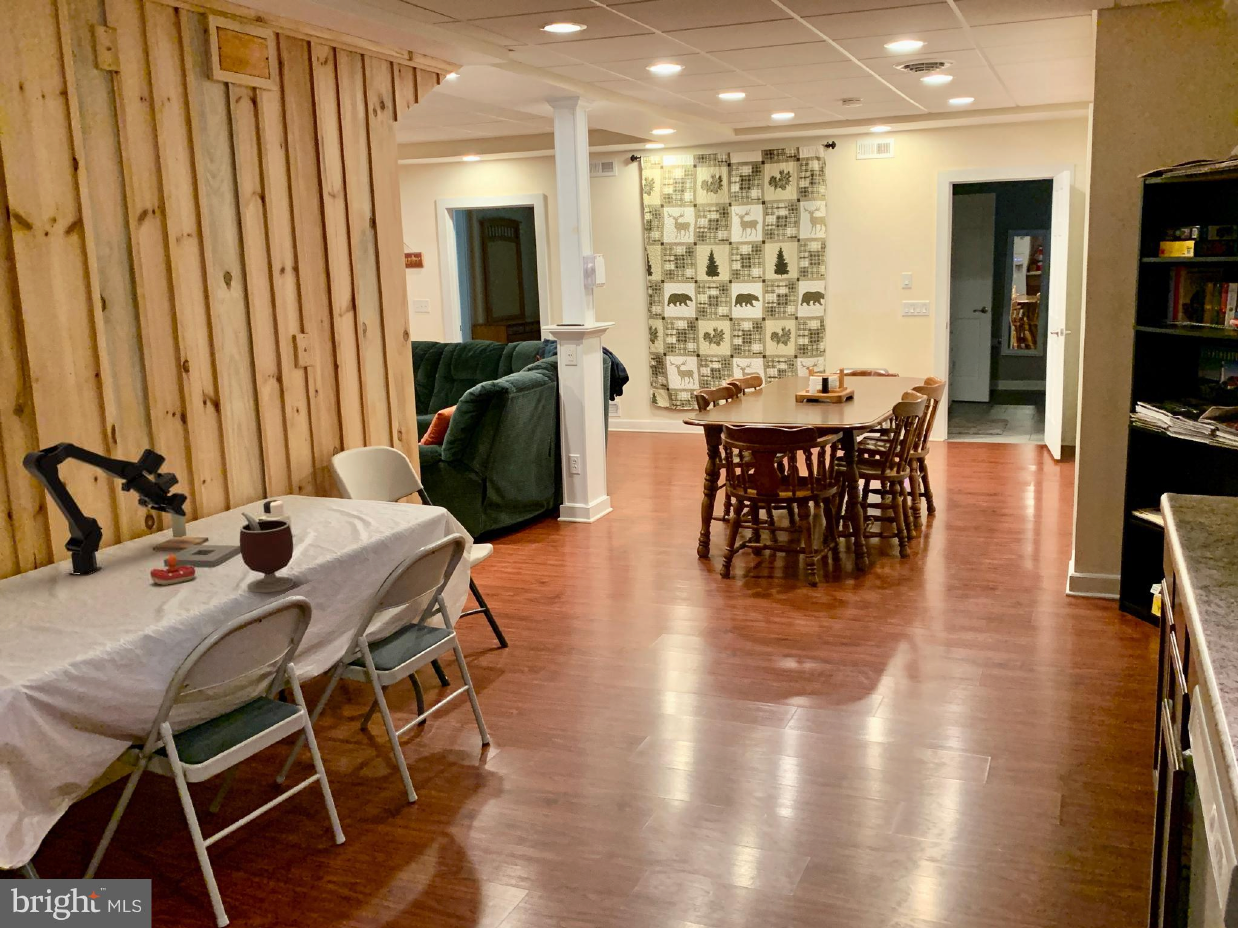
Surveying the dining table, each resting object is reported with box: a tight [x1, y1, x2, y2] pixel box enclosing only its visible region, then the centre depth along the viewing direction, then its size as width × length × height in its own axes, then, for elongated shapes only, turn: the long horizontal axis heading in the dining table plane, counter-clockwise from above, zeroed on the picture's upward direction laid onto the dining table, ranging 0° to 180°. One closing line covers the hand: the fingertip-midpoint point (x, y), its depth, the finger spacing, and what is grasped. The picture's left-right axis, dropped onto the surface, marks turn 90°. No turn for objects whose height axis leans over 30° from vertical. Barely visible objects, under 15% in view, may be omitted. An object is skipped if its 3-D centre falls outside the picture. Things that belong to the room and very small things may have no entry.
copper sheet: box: [152, 536, 209, 552], centre depth 341 cm, size 12×12×1 cm
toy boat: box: [149, 554, 196, 586], centre depth 303 cm, size 8×12×8 cm, turn 128°
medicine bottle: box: [258, 499, 293, 534], centre depth 346 cm, size 7×7×12 cm
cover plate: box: [163, 544, 241, 568], centre depth 325 cm, size 16×16×2 cm
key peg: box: [169, 505, 187, 538], centre depth 339 cm, size 4×4×13 cm
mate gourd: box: [239, 512, 295, 593], centre depth 295 cm, size 16×14×20 cm
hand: (181, 514), depth 340 cm, fingers closed on key peg, 4 cm apart
